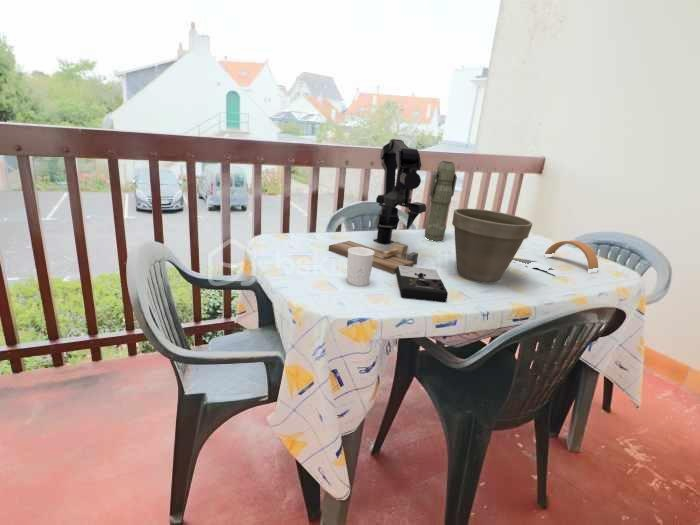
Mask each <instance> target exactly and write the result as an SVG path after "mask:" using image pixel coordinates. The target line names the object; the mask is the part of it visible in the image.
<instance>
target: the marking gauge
mask: <svg viewBox="0 0 700 525" xmlns="http://www.w3.org/2000/svg"><path fill="white" fill-rule="evenodd" d="M408 250H409V245H408V244H405V243H403V242H402V243H401V242H399V241H394V242H393V243H390V249H388V250H384V251H382V252H383V256H385V257H384V258H386V257H389V256H392V255H394V256H397V257H400V258H403V259H406V260H407V254H408Z"/></svg>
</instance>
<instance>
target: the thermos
mask: <svg viewBox="0 0 700 525" xmlns="http://www.w3.org/2000/svg"><path fill="white" fill-rule="evenodd" d="M457 179H458V177H457V174H456V166H455V163H454V162H452V161H447V160H442V161H439V163H438V165H437V168H436V171H435V172H433V174H432V177H431V182H430V187H429V188H430V189H429V196H430V206H429V207H430V208H429V212H428V218H427V221H426V223H425V227H424V228H425V230H424V236H425V237H426V238H427V239H429V240H433V241H442V240H443V241H444V236H445V234H446V229H447V226H446V222H447V216H448V211H449V206H450V204H451V201H452V197H453V196H454V194H455V190H456V183H457ZM433 241H432V242H433ZM443 241H442V242H443Z"/></svg>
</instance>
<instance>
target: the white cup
mask: <svg viewBox="0 0 700 525" xmlns="http://www.w3.org/2000/svg"><path fill="white" fill-rule="evenodd" d="M373 258H374V251H373V250H371V249H368V248H363V247H352V248H349V249H348V257H347V263H346V264H347V265H346V266H347V268H346V271H347V273H346V274H347V276H346V281H347V283H349V284H350V285H353V286H355V287H356V286H357V287H359V286H360V287H364V286H367V285H369V284H370V283H369V282H370V277H371V275H372V274H371V273H372V268H373V267H372V263H373Z"/></svg>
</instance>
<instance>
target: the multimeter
mask: <svg viewBox="0 0 700 525" xmlns="http://www.w3.org/2000/svg"><path fill="white" fill-rule="evenodd" d="M395 276H396V280H397V284H398V289H399V293H400V294H399V295H400V297H401V298H402V299H409V300H417V301H418V300H419V301H427V302H438V303H446V302H447V300H448V294H449V292H448V291H447V290H448V289H446V286H445V284H444V282H443V281H442V279H441V277H440V275H439V273H438V271H437V269H434V268H427V267H417V266H413V267H408V266H397V270H396V274H395Z"/></svg>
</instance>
